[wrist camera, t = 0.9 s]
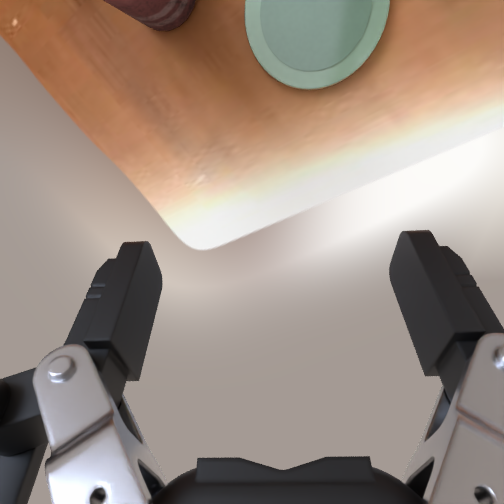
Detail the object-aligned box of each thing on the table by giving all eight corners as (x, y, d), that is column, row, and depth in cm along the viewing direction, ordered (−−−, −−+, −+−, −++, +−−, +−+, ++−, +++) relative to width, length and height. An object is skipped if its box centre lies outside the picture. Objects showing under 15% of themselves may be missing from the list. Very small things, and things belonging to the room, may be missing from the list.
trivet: (266, -90, 25) (264, -98, 24) (413, -58, 24) (416, -65, 23) (233, 71, 29) (230, 70, 28) (357, 105, 28) (358, 104, 27)
